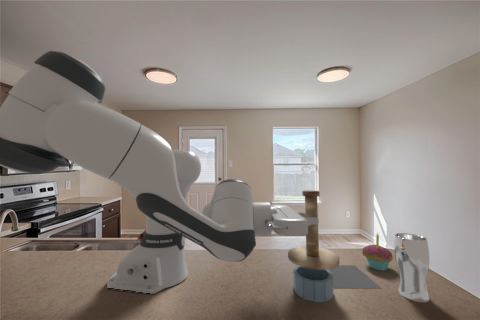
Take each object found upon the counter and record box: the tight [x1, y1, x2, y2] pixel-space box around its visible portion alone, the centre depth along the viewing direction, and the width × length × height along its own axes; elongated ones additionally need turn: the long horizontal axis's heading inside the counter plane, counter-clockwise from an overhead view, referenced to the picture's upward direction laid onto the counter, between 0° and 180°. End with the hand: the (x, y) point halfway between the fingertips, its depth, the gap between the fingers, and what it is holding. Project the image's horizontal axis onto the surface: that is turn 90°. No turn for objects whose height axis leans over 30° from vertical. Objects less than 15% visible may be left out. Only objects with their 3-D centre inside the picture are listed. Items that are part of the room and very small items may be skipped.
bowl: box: [292, 265, 335, 303], centre depth 56 cm, size 10×10×5 cm
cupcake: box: [362, 232, 394, 271], centre depth 70 cm, size 9×8×12 cm
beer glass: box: [394, 232, 430, 303], centre depth 54 cm, size 7×7×15 cm
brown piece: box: [287, 189, 341, 270], centre depth 57 cm, size 13×13×18 cm
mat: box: [328, 264, 383, 290], centre depth 64 cm, size 14×14×1 cm
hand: (314, 218), depth 57 cm, fingers closed on brown piece, 3 cm apart
